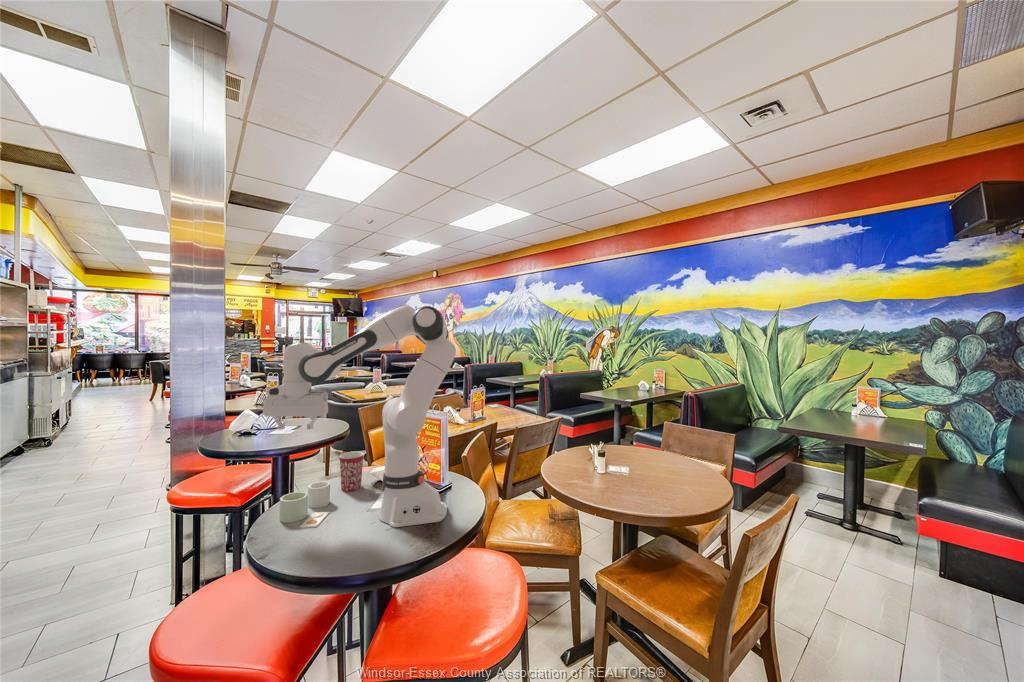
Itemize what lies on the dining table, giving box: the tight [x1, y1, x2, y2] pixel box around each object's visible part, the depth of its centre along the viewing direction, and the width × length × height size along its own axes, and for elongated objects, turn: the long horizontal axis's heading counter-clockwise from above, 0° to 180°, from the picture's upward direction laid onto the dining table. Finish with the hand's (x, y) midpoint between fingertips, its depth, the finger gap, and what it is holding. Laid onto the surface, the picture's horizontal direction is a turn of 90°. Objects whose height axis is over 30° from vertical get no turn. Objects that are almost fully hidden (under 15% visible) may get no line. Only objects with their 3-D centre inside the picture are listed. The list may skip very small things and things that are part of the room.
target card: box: [299, 511, 330, 529], centre depth 120 cm, size 5×10×1 cm, turn 6°
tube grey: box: [307, 481, 331, 509], centre depth 133 cm, size 7×7×7 cm
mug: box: [338, 451, 365, 493], centre depth 149 cm, size 13×9×14 cm
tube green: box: [279, 491, 309, 524], centre depth 122 cm, size 8×8×7 cm
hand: (295, 429), depth 128 cm, fingers open, 8 cm apart
